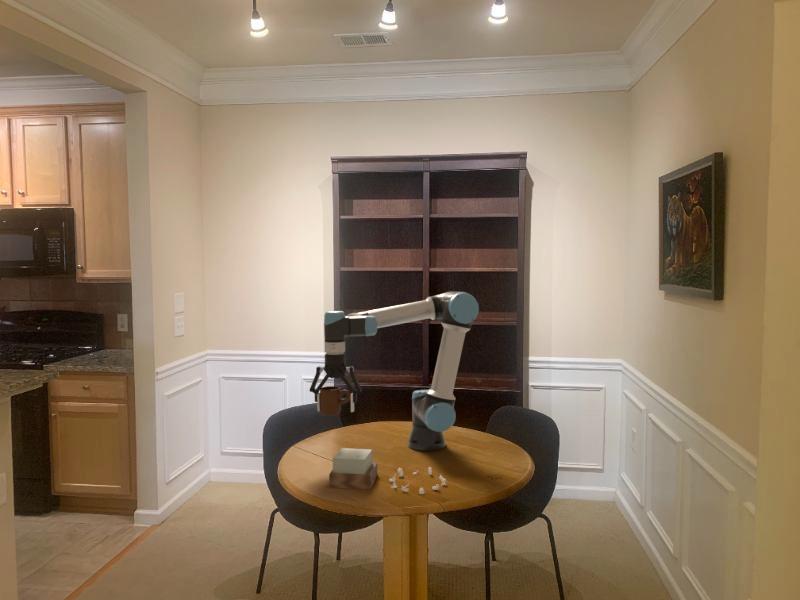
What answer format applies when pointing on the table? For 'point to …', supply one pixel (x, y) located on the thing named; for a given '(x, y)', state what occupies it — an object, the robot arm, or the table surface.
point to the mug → (332, 400)
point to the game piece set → (422, 491)
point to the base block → (354, 479)
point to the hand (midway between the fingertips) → (335, 411)
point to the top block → (352, 461)
